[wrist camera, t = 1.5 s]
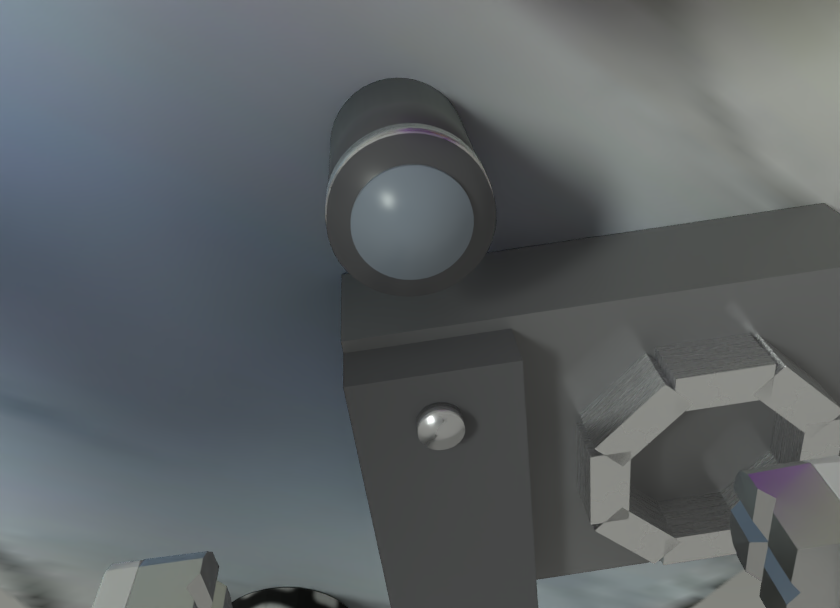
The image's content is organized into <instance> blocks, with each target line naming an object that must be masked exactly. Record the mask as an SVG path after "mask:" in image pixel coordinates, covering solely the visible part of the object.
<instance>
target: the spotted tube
mask: <svg viewBox="0 0 840 608" xmlns="http://www.w3.org/2000/svg"><path fill="white" fill-rule="evenodd" d="M232 607H233V608H347V607H346V606H345V605H344V604H342V603H341V602H340V601H338V600H336V599H334V598H332V597H330V596H328V595H326V594H323V593H319V592H316V591H313V590H307V589H301V588H274V589H266V590H262V591H258V592H253V593H250V594H248V595H246V596H243V597H241V598H238V599H237V600H235V601H233V602H232Z"/></svg>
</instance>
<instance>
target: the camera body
mask: <svg viewBox="0 0 840 608" xmlns="http://www.w3.org/2000/svg"><path fill="white" fill-rule="evenodd" d="M341 344H342V349H343V388H344V393H345V398H346V402H347V407H348V411H349V416H350V421H351V425H352V430H353V434H354V439H355V444H356V448H357V453H358V457H359V462H360V467H361V471H362V476H363V480H364V485H365V490H366V494H367V499H368V503H369V508H370V513H371V517H372V522H373V526H374V531H375V536H376V540H377V545H378V549H379V554H380V559H381V563H382V568H383V572H384V577H385V582H386V586H387V591H388V595H389V600H390V605H391V608H538V600H537V583H536V580H537V579H544V578H550V577H557V576H563V575H570V574H576V573H583V572H589V571H596V570H602V569H609V568H615V567H622V566H628V565H635V564H641V563H648V562H652V563H654V564H655V563H656V562H658V561H662V563H663V565H667V564H673V563H680V562H686V561H693V560H699V559H706V558H712V557H719V556H725V555H732V554H737V553H736V551H735V548H734V546H733V542H732V536H731V531H730V515H731V510H732V509H733V507H734V506H735V505H736V504H737V503H738V502H739V501H740V499H739V498H738V496H737V494H736V493H735V491H734V482H735V477H736V475H737V473H738V472H739V471H740V470H746V469H752V468H759V467H765V466H771V465H777V464H783V463H790V462H796V461H804V460H809V459H816V458H822V457H829V456H835V455H838V456H840V214H839V213H838V212H836V211H835V210H833V209H832V208H831V207H829V206H828V205H826V204H825V203H821V204H814V205H808V206H801V207H794V208H787V209H781V210H774V211H767V212H760V213H754V214H747V215H740V216H733V217H727V218H720V219H713V220H706V221H700V222H693V223H686V224H679V225H673V226H666V227H659V228H652V229H646V230H639V231H632V232H625V233H619V234H612V235H605V236H598V237H592V238H585V239H578V240H571V241H565V242H558V243H551V244H544V245H538V246H531V247H524V248H517V249H511V250H504V251H497V252H490V253H486V254H485V256H484V257H483V259H482V260H481V262H480V263H479V264H478V265H477V267H476V268H475V269H474V270H473V271H472V272H471V273H470V274H469V275H467V276H466V277H465V278H463V279H462V280H461V281H459V282H458V283H456V284H454V285H453V286H451V287H449V288H446V289H444V290H442V291H439V292H436V293H433V294H428V295H423V296H413V297H406V296H395V295H389V294H385V293H381V292H379V291H376V290H374V289H371V288H369V287H367V286H366V285H364V284H362V283H360V282H359V281H358V280H356V279H355V278H354V277H352V276H351V275H350V274H342V283H341Z"/></svg>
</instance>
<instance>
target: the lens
mask: <svg viewBox="0 0 840 608" xmlns="http://www.w3.org/2000/svg"><path fill="white" fill-rule="evenodd" d="M325 220H326V227H327V234H328V238H329V242H330V245H331V247H332V250H333V252H334V254H335V256H336V257H337V259H338V261H339V262H340V264H341V265H342V266H343V267H344V269H345V270H346V271H347V272H348V273H349V274H350V275H351V276H352V277H354V278H355V279H356V280H358V281H359V282H360V283H362V284H364V285H366V286H367V287H369V288H371V289H374V290H376V291H379V292H381V293H385V294H389V295H395V296H406V297H413V296H423V295H428V294H433V293H436V292H439V291H442V290H444V289H446V288H449V287H451V286H453V285H454V284H456V283H458V282H459V281H461V280H462V279H463V278H465V277H466V276H467V275H469V274H470V273H471V272H472V271H473V270H474V269H475V268H476V267H477V265H478V264H479V263H480V262H481V260H482V259H483V257H484V256H485V254H486V252H487V251H488V249H489V247H490V244H491V242H492V239H493V236H494V232H495V226H496V205H495V199H494V196H493V191H492V187H491V184H490V181H489V179H488V177H487V174H486V172H485V170H484V168H483V166H482V164H481V162H480V160H479V159H478V157H477V156H476V154H475V152H474V150H473V147H472V145H471V143H470V141H469V138H468V136H467V134H466V132H465V130H464V127H463V125H462V123H461V121H460V118H459V116H458V114H457V112H456V110H455V109H454V107H453V106H452V104H451V103H450V102H449V101H448V99H447V98H446V97H445V96H444V95H442V94H441V93H440V92H439V91H437V90H436V89H434V88H433V87H431V86H429V85H427V84H425V83H423V82H420V81H417V80H413V79H407V78H389V79H384V80H379V81H376V82H374V83H371V84H369V85H367V86H365V87H363V88H362V89H360V90H359V91H357V92H356V93H355V94H353V95H352V96H351V97H350V98H349V99H348V100H347V101H346V103H345V104H344V105H343V106H342V108H341V110H340V111H339V113H338V115H337V117H336V119H335V121H334V125H333V128H332V133H331V142H330V160H329V178H328V186H327V192H326V202H325Z"/></svg>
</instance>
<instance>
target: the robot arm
mask: <svg viewBox="0 0 840 608" xmlns="http://www.w3.org/2000/svg"><path fill="white" fill-rule="evenodd" d="M734 491H735V493H736V494H737V496H738V498H739V499H740V501H739V502H738V503H737V504H736V505H735V506H734V507H733V509H732V510H731V515H730V531H731V536H732V542H733V546H734V548H735V551H736V553H737V556H738V558H739V560H740V562H741V564H742V566H743V568H744V569H745V571H746V572H747V573H749V574H751V575H752V576H754V577H756V578H757V579H758V580H760V581H762V583H761V589H760V598H761V600H762V601H763V603H764V605H765V607H766V608H840V456H838V455H835V456H829V457H822V458H816V459H809V460H804V461H796V462H790V463H783V464H777V465H771V466H765V467H759V468H752V469H746V470H740V471H739V472H738V473H737V475H736V477H735V482H734ZM218 570H219V566H218V563H217V561H216V559H215V556H214V554H213V552H208V551H206V552H198V553H190V554H182V555H174V556H166V557H158V558H150V559H144V560H138V561H130V562H123V563H115V564H112V565H111V566H110V567H109V568H108V569H107V571H106V572H105V573H104V576H103V579H102V581H101V584H100V587H99V590H98V593H97V595H96V598H95V601H94V604H93V607H92V608H233V607H232V602H231V597H230V594H229V592H228V589H227V586H225V585H224V584H222V583H220V582H219V581H217V575H218Z"/></svg>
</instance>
